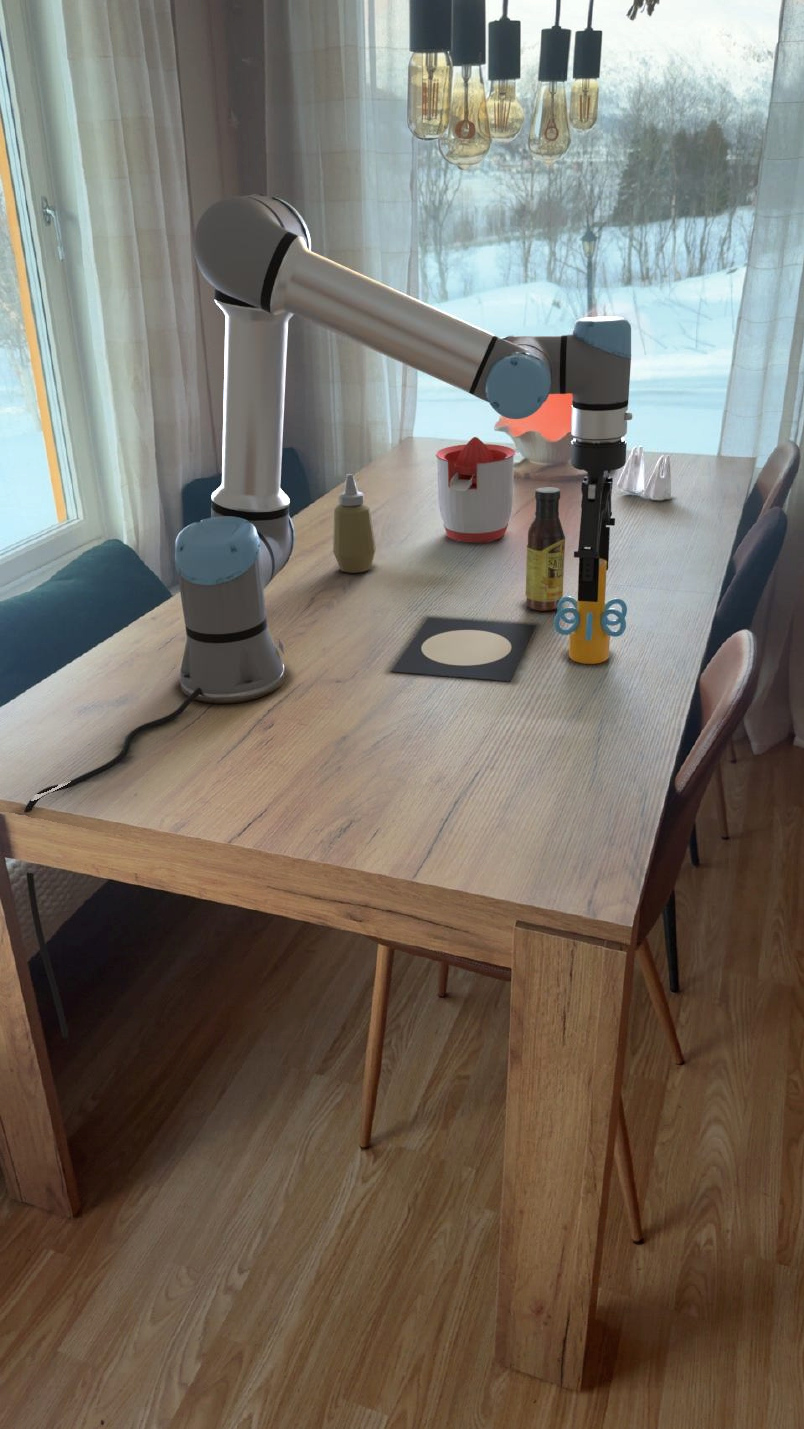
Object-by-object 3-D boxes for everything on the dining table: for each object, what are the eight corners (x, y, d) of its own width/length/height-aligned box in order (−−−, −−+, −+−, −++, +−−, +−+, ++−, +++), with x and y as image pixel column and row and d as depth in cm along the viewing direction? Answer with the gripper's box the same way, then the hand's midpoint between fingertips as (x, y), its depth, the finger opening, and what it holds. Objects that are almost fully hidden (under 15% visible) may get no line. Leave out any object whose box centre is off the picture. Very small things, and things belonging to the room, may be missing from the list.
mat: (510, 681, 153) (510, 681, 153) (391, 671, 157) (391, 671, 157) (535, 625, 171) (535, 624, 171) (428, 618, 176) (428, 617, 176)
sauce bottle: (552, 615, 175) (556, 497, 166) (519, 609, 178) (520, 493, 169) (569, 602, 180) (573, 487, 171) (535, 596, 183) (538, 483, 174)
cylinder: (623, 675, 153) (629, 577, 146) (551, 672, 155) (553, 575, 148) (624, 642, 164) (630, 549, 157) (557, 639, 166) (559, 547, 159)
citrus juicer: (422, 546, 211) (419, 445, 202) (454, 521, 225) (452, 426, 216) (496, 553, 205) (496, 450, 196) (524, 528, 219) (525, 430, 210)
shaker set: (614, 495, 239) (617, 446, 234) (623, 491, 242) (626, 442, 237) (663, 502, 232) (666, 452, 227) (672, 498, 235) (675, 448, 230)
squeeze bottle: (385, 567, 200) (381, 473, 192) (355, 578, 195) (349, 482, 187) (355, 559, 205) (350, 466, 197) (325, 570, 200) (318, 475, 192)
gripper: (617, 459, 133) (610, 616, 142) (634, 419, 154) (627, 558, 164) (558, 458, 135) (555, 613, 144) (583, 418, 156) (578, 556, 166)
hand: (593, 584), depth 154 cm, fingers open, 13 cm apart
